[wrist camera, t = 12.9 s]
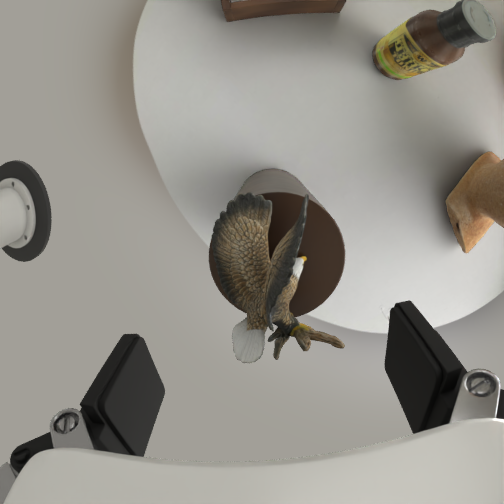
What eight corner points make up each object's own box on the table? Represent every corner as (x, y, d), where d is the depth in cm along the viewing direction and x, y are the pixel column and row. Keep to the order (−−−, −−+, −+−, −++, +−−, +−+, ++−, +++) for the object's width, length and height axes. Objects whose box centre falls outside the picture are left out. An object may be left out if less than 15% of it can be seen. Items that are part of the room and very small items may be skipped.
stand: (243, 241, 40) (223, 326, 21) (232, 174, 37) (196, 203, 18) (311, 232, 39) (347, 311, 21) (303, 164, 36) (340, 183, 18)
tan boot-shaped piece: (480, 131, 32) (548, 136, 18) (510, 190, 35) (572, 212, 21) (423, 193, 37) (487, 220, 22) (458, 250, 39) (516, 292, 25)
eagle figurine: (363, 300, 19) (333, 172, 15) (325, 392, 14) (270, 257, 10) (269, 292, 24) (222, 189, 19) (219, 363, 19) (145, 254, 15)
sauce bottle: (362, 62, 31) (436, 6, 12) (381, 32, 29) (455, -29, 10) (401, 91, 32) (495, 64, 13) (418, 60, 30) (509, 23, 11)
